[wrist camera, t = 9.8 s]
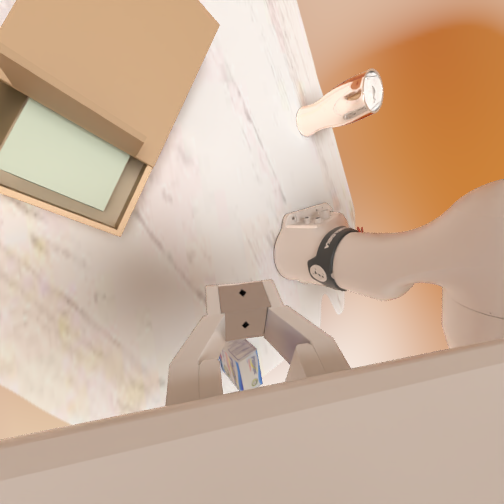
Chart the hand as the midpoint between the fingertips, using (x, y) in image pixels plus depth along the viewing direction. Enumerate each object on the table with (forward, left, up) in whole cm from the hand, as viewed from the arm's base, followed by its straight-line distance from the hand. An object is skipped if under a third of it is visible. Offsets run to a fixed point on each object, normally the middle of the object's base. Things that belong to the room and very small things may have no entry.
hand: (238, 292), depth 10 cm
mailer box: (-1, -14, -29) cm, 32 cm away
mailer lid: (-7, -20, -21) cm, 30 cm away
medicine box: (-4, +28, -29) cm, 41 cm away
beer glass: (-42, -8, -29) cm, 51 cm away
